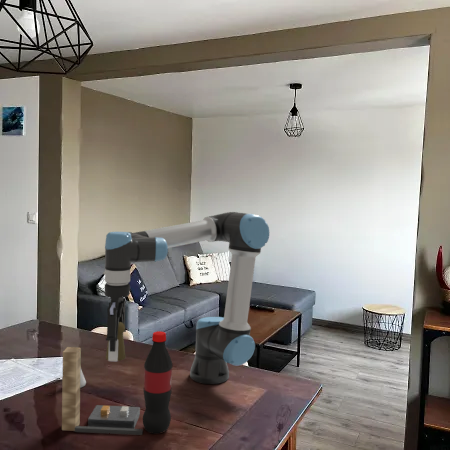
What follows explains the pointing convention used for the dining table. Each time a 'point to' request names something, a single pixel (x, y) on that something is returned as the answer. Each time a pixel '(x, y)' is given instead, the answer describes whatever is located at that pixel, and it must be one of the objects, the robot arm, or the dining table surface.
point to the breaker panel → (114, 416)
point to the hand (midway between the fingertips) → (115, 356)
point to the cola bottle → (157, 386)
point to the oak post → (71, 388)
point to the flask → (82, 379)
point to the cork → (119, 343)
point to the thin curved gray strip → (108, 430)
